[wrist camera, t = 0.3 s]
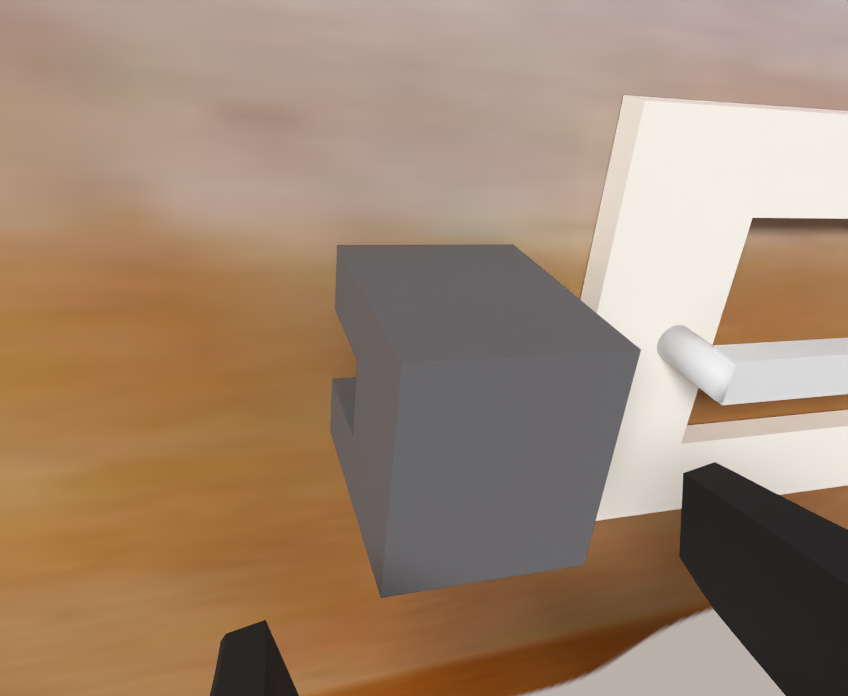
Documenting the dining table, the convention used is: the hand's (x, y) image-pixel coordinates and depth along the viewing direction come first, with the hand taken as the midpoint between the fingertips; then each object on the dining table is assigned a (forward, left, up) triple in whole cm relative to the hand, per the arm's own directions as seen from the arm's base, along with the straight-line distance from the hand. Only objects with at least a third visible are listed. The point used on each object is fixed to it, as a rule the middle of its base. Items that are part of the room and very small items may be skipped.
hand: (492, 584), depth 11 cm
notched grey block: (-1, +1, -9) cm, 10 cm away
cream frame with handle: (-13, +9, -9) cm, 18 cm away
